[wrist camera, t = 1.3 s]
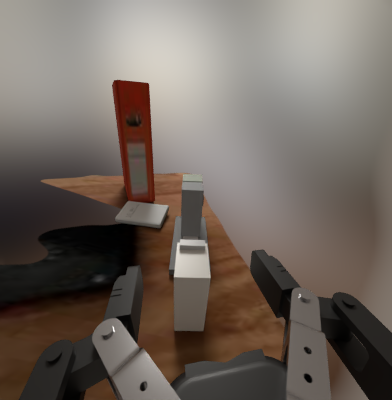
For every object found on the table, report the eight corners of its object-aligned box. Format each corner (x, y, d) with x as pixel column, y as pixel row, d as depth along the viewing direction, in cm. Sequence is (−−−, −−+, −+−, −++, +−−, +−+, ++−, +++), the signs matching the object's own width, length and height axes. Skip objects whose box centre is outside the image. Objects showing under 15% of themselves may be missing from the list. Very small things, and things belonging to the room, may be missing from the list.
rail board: (169, 274, 37) (167, 214, 30) (176, 220, 53) (176, 172, 46) (209, 275, 37) (217, 216, 30) (204, 221, 53) (209, 174, 46)
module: (174, 330, 28) (173, 272, 22) (177, 293, 33) (177, 238, 27) (204, 331, 28) (212, 273, 22) (202, 294, 34) (208, 239, 27)
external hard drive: (160, 229, 49) (115, 222, 50) (169, 209, 55) (129, 204, 57) (159, 224, 48) (114, 218, 49) (168, 205, 55) (128, 199, 56)
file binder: (127, 205, 56) (114, 79, 42) (123, 184, 70) (112, 84, 56) (154, 201, 59) (150, 83, 45) (145, 182, 73) (139, 87, 59)
